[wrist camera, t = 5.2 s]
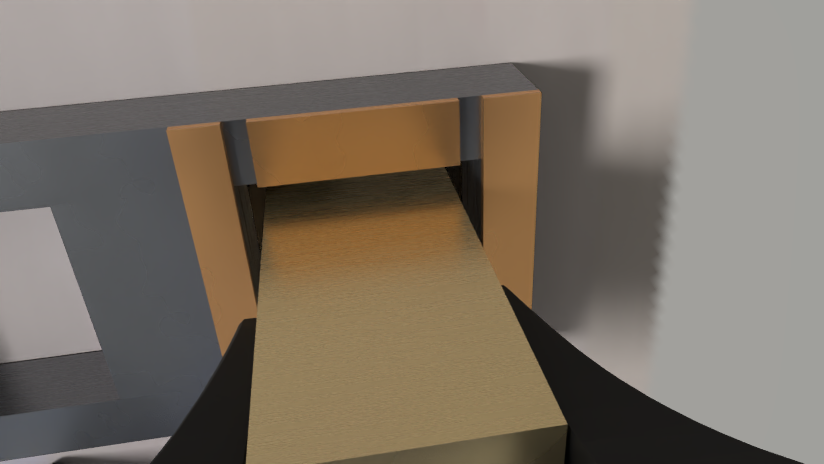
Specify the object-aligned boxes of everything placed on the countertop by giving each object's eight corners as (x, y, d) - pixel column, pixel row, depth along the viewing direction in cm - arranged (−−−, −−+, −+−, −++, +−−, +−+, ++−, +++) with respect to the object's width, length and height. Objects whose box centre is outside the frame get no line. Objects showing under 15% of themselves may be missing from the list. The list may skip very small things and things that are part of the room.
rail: (504, 336, 20) (527, 388, 18) (-100, 421, 18) (-147, 489, 16) (511, 62, 16) (541, 92, 14) (-270, 137, 14) (-358, 183, 12)
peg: (448, 308, 17) (551, 610, 10) (291, 329, 17) (291, 658, 10) (443, 166, 15) (567, 423, 8) (266, 186, 15) (245, 474, 8)
